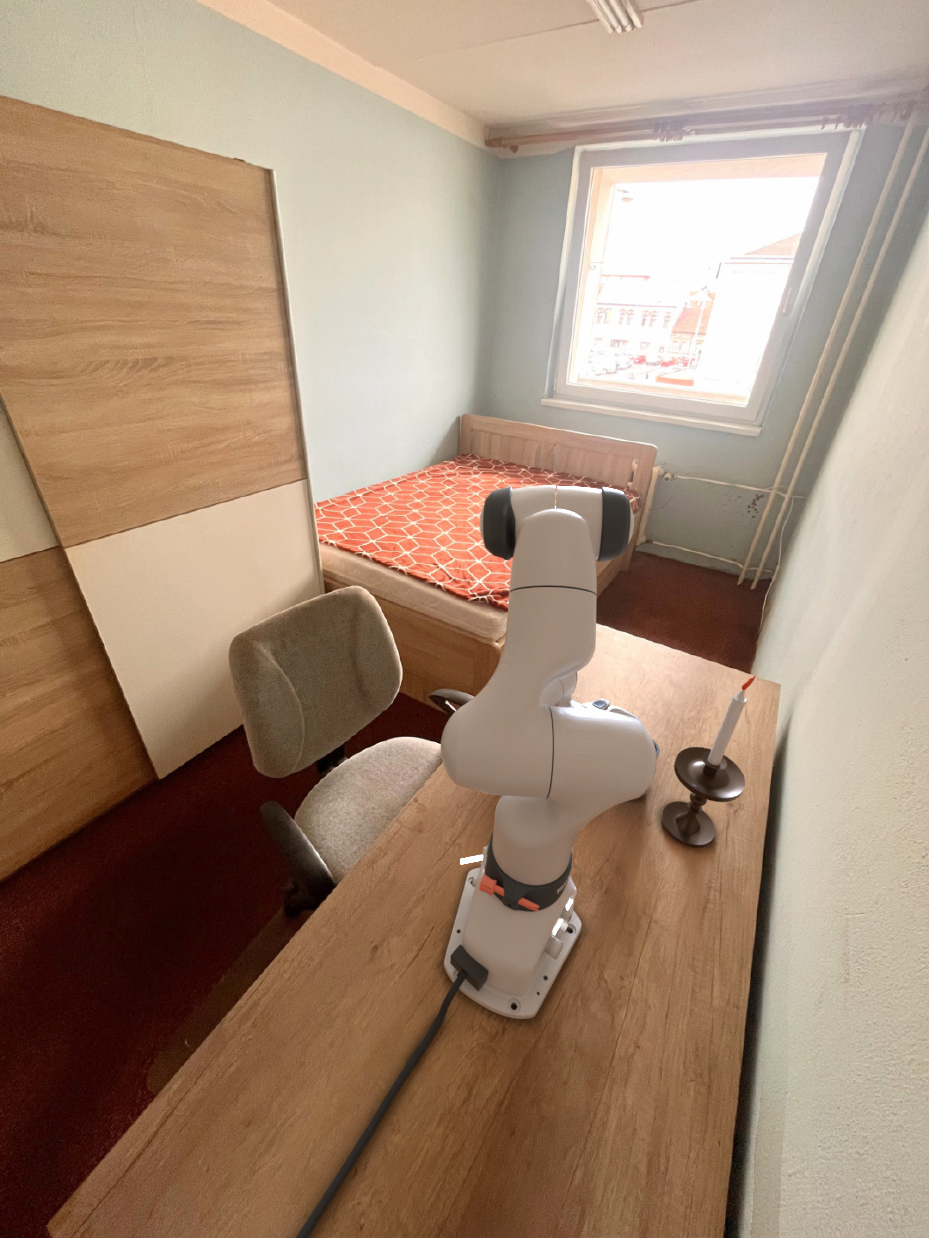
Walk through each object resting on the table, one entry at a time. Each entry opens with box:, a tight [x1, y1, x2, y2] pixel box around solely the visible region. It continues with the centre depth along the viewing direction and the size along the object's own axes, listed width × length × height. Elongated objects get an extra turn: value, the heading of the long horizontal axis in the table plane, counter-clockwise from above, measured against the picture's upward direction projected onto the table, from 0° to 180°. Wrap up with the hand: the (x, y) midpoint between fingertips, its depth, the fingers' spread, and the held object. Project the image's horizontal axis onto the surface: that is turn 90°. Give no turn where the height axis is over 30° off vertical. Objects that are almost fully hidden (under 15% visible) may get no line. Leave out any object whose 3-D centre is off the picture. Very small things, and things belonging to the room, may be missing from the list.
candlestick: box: [660, 675, 756, 849], centre depth 83 cm, size 11×11×35 cm
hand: (639, 766), depth 95 cm, fingers open, 8 cm apart
